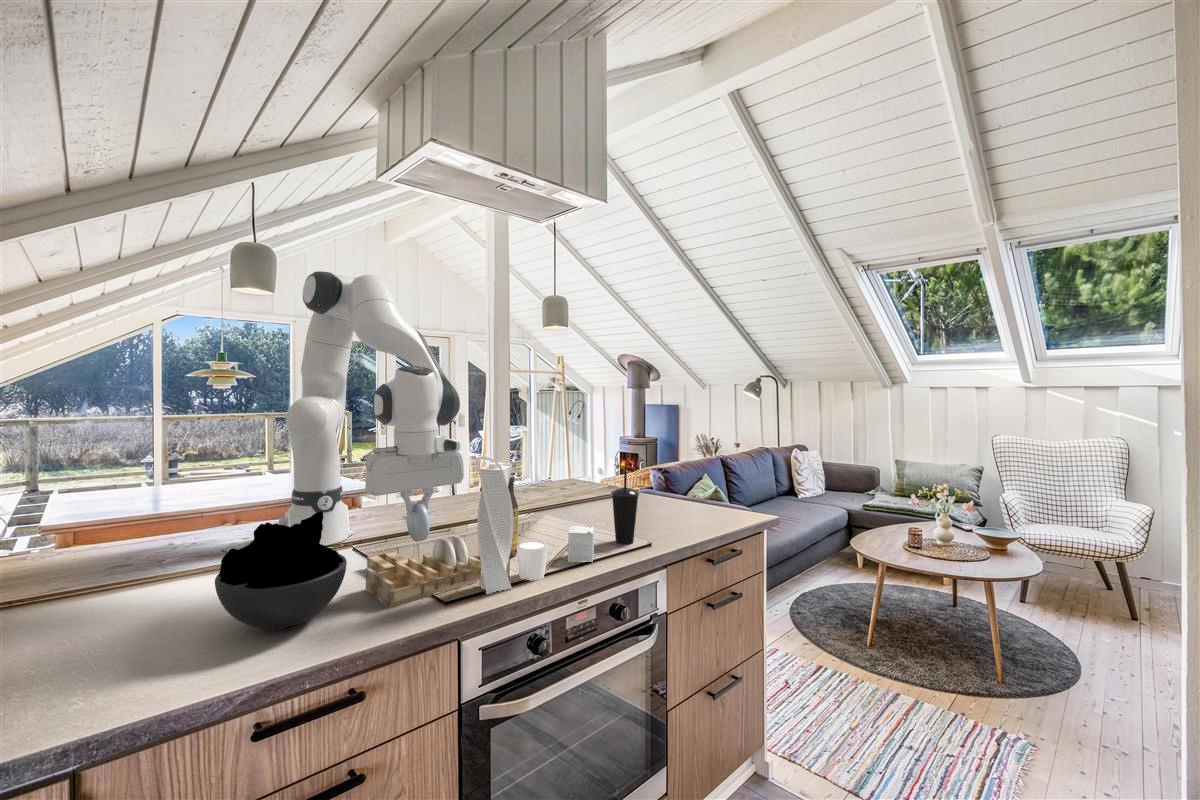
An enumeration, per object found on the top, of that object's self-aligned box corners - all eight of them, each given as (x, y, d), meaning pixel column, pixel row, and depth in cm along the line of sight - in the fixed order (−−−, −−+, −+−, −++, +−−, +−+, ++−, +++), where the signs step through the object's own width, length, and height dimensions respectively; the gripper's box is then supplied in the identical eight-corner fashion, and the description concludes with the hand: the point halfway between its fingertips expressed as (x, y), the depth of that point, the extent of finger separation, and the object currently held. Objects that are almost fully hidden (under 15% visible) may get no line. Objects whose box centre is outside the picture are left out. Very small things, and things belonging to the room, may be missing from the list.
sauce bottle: (512, 560, 129) (513, 479, 129) (488, 558, 131) (488, 477, 130) (521, 551, 136) (522, 474, 135) (498, 549, 137) (499, 473, 136)
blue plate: (405, 533, 114) (407, 497, 113) (410, 532, 115) (413, 497, 113) (422, 547, 108) (425, 510, 107) (428, 546, 109) (431, 509, 108)
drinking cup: (620, 536, 150) (621, 465, 150) (643, 541, 146) (644, 468, 145) (605, 542, 144) (605, 469, 144) (628, 548, 140) (629, 472, 139)
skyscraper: (481, 597, 107) (482, 459, 106) (469, 585, 113) (470, 454, 112) (518, 590, 111) (519, 456, 110) (505, 578, 117) (505, 452, 116)
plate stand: (367, 568, 122) (367, 556, 122) (392, 562, 126) (392, 551, 126) (386, 581, 115) (386, 568, 115) (412, 574, 119) (412, 562, 119)
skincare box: (570, 554, 134) (570, 525, 134) (594, 555, 134) (594, 526, 134) (567, 562, 128) (567, 532, 128) (592, 563, 128) (593, 533, 128)
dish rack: (365, 590, 110) (365, 547, 110) (452, 567, 124) (453, 528, 124) (390, 608, 101) (390, 561, 101) (481, 581, 116) (481, 540, 115)
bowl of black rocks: (215, 665, 81) (214, 542, 80) (215, 617, 97) (213, 514, 96) (357, 630, 92) (357, 523, 92) (336, 592, 108) (335, 501, 108)
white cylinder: (510, 576, 119) (510, 545, 119) (533, 568, 124) (534, 538, 124) (529, 584, 114) (530, 552, 114) (553, 576, 119) (553, 545, 119)
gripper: (372, 450, 101) (373, 522, 101) (467, 441, 115) (467, 504, 116) (359, 447, 105) (360, 516, 106) (452, 439, 120) (452, 500, 120)
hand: (417, 510), depth 111 cm, fingers closed on blue plate, 1 cm apart
